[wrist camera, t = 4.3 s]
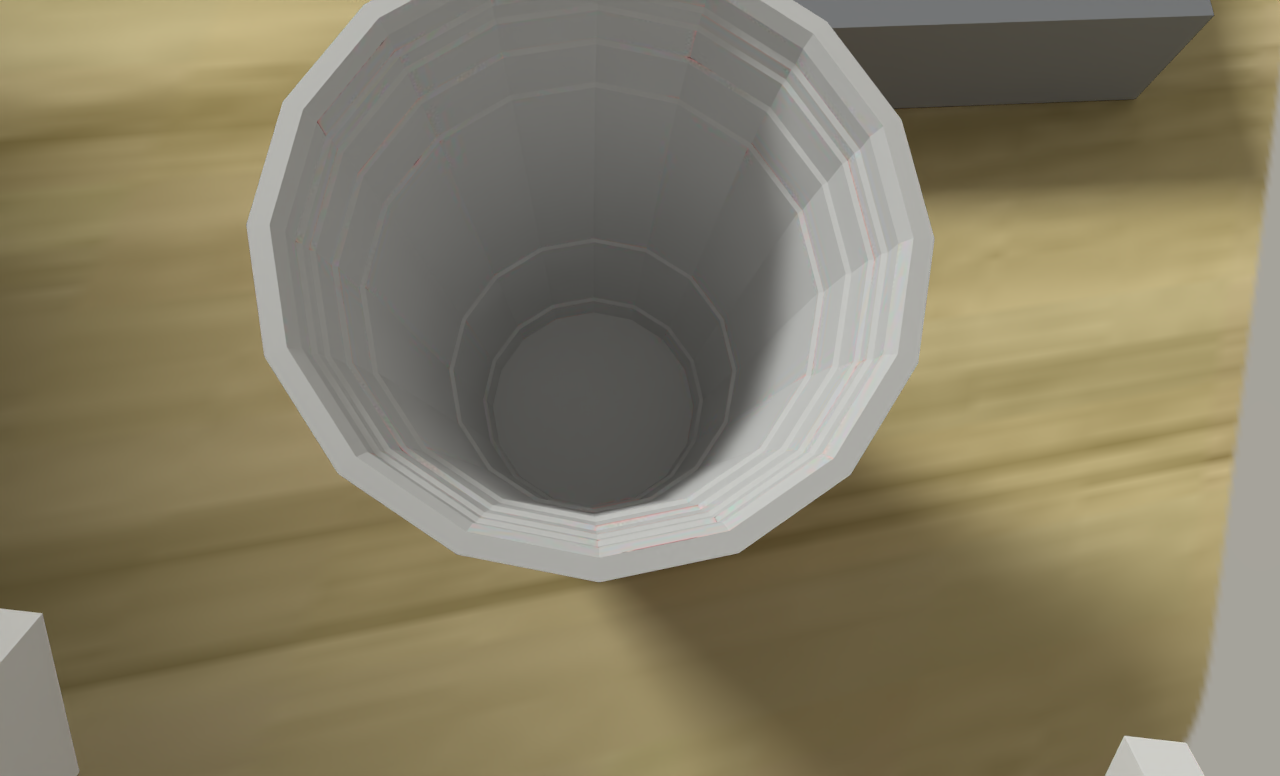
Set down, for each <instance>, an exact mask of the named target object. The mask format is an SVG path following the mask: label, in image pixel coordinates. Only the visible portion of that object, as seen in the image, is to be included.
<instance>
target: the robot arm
mask: <svg viewBox="0 0 1280 776" xmlns="http://www.w3.org/2000/svg"><path fill="white" fill-rule="evenodd" d="M78 773H79V767H78V763H77V759H76V755H75V750H74V746H73V742H72V737H71V733H70V729H69V725H68V720H67V716H66V712H65V707H64V703H63V699H62V695H61V690H60V686H59V682H58V678H57V673H56V669H55V665H54V660H53V656H52V652H51V648H50V643H49V639H48V635H47V630H46V626H45V622H44V618H43V613H35V612H26V611H18V610H9V609H0V776H77V775H78ZM1105 776H1205V775H1204V774H1203V772H1202V770H1201V768H1200V766H1199V765H1198V763H1197V761H1196V759H1195V757H1194V755H1193V754H1192V752H1191V750H1190V748H1189V747H1188V745H1187V743H1184V742H1175V741H1166V740H1157V739H1148V738H1139V737H1131V736H1124V737H1123V739H1122V741H1121V743H1120V746H1119V748H1118V750H1117V752H1116V754H1115V756H1114V758H1113V760H1112V762H1111V764H1110V766H1109V768H1108V770H1107V773H1106V775H1105Z"/></svg>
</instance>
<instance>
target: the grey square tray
mask: <svg viewBox="0 0 1280 776" xmlns="http://www.w3.org/2000/svg"><path fill="white" fill-rule="evenodd" d="M793 1H795V2H797V3H798V4H800V5H801V6H803V7H805V8H806V9H808V10H809V11H811V12H812V13H814V14H816V15H817V16H819V17H820V18H822V19H824V20H825V21H827V22H828V24H829V25H830V26H831V28H832V29H833V30H834V32H835V33H836V34H837V35H838V37H839V38H840V39H841V41H842V42H843V43H844V45H845V46H846V47H847V49H848V50H849V51H850V53H851V54H852V55H853V57H854V58H855V59H856V61H857V62H858V63H859V64H860V66H861V67H862V68H863V70H864V71H865V72H866V74H867V75H868V76H869V78H870V79H871V80H872V82H873V83H874V84H875V86H876V87H877V88H878V89H879V91H880V92H881V93H882V95H883V96H884V97H885V99H886V100H887V101H888V103H889V104H890V105H891V107H892V108H918V107H944V106H969V105H995V104H1021V103H1047V102H1072V101H1098V100H1124V99H1136V98H1137V97H1138V96H1139V95H1140V94H1141V93H1142V92H1143V90H1144V89H1145V88H1146V87H1147V86H1148V85H1149V84H1150V83H1151V82H1152V81H1153V80H1154V79H1155V78H1156V77H1157V76H1158V75H1159V73H1160V72H1161V71H1162V70H1163V69H1164V68H1165V67H1166V66H1167V65H1168V64H1169V63H1170V62H1171V61H1172V60H1173V59H1174V57H1175V56H1176V55H1177V54H1178V53H1179V52H1180V51H1181V50H1182V49H1183V48H1184V47H1185V46H1186V45H1187V44H1188V43H1189V42H1190V40H1191V39H1192V38H1193V37H1194V36H1195V35H1196V34H1197V33H1198V32H1199V31H1200V30H1201V29H1202V28H1203V27H1204V26H1205V25H1206V23H1207V22H1208V21H1209V20H1210V19H1211V18H1212V17H1213V16H1214V13H1213V9H1212V6H1211V2H1210V0H793Z"/></svg>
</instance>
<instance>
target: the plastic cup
mask: <svg viewBox="0 0 1280 776" xmlns="http://www.w3.org/2000/svg"><path fill="white" fill-rule="evenodd" d="M246 226H247V233H248V241H249V248H250V255H251V263H252V270H253V277H254V284H255V292H256V299H257V306H258V314H259V321H260V328H261V336H262V343H263V350H264V357H265V358H266V360H267V361H268V363H269V365H270V366H271V368H272V369H273V371H274V373H275V374H276V376H277V377H278V379H279V381H280V382H281V384H282V385H283V387H284V389H285V390H286V392H287V393H288V395H289V397H290V398H291V400H292V401H293V403H294V404H295V406H296V408H297V409H298V411H299V412H300V414H301V416H302V417H303V419H304V420H305V422H306V424H307V425H308V427H309V428H310V430H311V432H312V433H313V435H314V436H315V438H316V439H317V441H318V443H319V444H320V446H321V447H322V449H323V451H324V452H325V454H326V455H327V457H328V459H329V460H330V462H331V463H332V465H333V467H334V468H335V470H336V471H337V473H338V474H339V475H341V476H342V477H343V478H345V479H346V480H348V481H349V482H351V483H352V484H354V485H355V486H357V487H358V488H360V489H361V490H363V491H364V492H366V493H367V494H369V495H370V496H371V497H373V498H374V499H376V500H377V501H379V502H380V503H382V504H383V505H385V506H386V507H388V508H389V509H391V510H392V511H394V512H395V513H397V514H398V515H399V516H401V517H402V518H404V519H405V520H407V521H408V522H410V523H411V524H413V525H414V526H416V527H417V528H419V529H420V530H422V531H423V532H425V533H426V534H427V535H429V536H430V537H432V538H433V539H435V540H436V541H438V542H439V543H441V544H442V545H444V546H445V547H447V548H448V549H450V550H451V551H453V552H454V553H455V554H457V555H462V556H467V557H473V558H478V559H483V560H488V561H493V562H498V563H503V564H508V565H513V566H518V567H524V568H529V569H534V570H539V571H544V572H549V573H554V574H559V575H564V576H570V577H575V578H580V579H585V580H590V581H595V582H603V581H608V580H613V579H618V578H622V577H627V576H632V575H637V574H641V573H646V572H651V571H656V570H661V569H665V568H670V567H675V566H680V565H684V564H689V563H694V562H699V561H704V560H708V559H713V558H718V557H723V556H727V555H732V554H737V553H740V552H741V551H742V550H744V549H745V548H747V547H748V546H750V545H751V544H752V543H754V542H755V541H757V540H758V539H760V538H761V537H762V536H764V535H765V534H767V533H768V532H770V531H771V530H772V529H774V528H775V527H777V526H778V525H780V524H781V523H782V522H784V521H785V520H787V519H788V518H790V517H791V516H792V515H794V514H795V513H797V512H798V511H799V510H801V509H802V508H804V507H805V506H807V505H808V504H809V503H811V502H812V501H814V500H815V499H817V498H818V497H819V496H821V495H822V494H824V493H825V492H827V491H828V490H829V489H831V488H832V487H834V486H835V485H837V484H838V483H839V482H841V481H842V480H844V479H845V478H846V477H848V476H849V475H851V473H852V471H853V470H854V468H855V466H856V465H857V463H858V462H859V460H860V458H861V457H862V455H863V453H864V452H865V450H866V448H867V447H868V445H869V443H870V442H871V440H872V438H873V437H874V435H875V434H876V432H877V430H878V429H879V427H880V425H881V424H882V422H883V420H884V419H885V417H886V415H887V414H888V412H889V410H890V409H891V407H892V405H893V404H894V402H895V401H896V399H897V397H898V396H899V394H900V392H901V391H902V389H903V387H904V386H905V384H906V382H907V381H908V379H909V377H910V376H911V374H912V372H913V371H914V369H915V368H916V366H917V364H918V360H919V352H920V345H921V337H922V330H923V322H924V315H925V307H926V299H927V292H928V284H929V277H930V269H931V262H932V254H933V246H934V235H933V232H932V228H931V224H930V221H929V217H928V214H927V210H926V206H925V203H924V199H923V195H922V192H921V188H920V185H919V181H918V177H917V174H916V170H915V167H914V163H913V159H912V156H911V152H910V148H909V145H908V141H907V138H906V134H905V130H904V127H903V123H902V120H901V118H900V117H899V116H898V114H897V113H896V112H895V111H894V109H893V108H892V107H891V105H890V104H889V103H888V101H887V100H886V99H885V97H884V96H883V95H882V93H881V92H880V91H879V89H878V88H877V87H876V86H875V84H874V83H873V82H872V80H871V79H870V78H869V76H868V75H867V74H866V72H865V71H864V70H863V68H862V67H861V66H860V64H859V63H858V62H857V61H856V59H855V58H854V57H853V55H852V54H851V53H850V51H849V50H848V49H847V47H846V46H845V45H844V43H843V42H842V41H841V39H840V38H839V37H838V35H837V34H836V33H835V32H834V30H833V29H832V28H831V26H830V25H829V24H828V22H827V21H825V20H824V19H822V18H820V17H819V16H817V15H816V14H814V13H812V12H811V11H809V10H808V9H806V8H805V7H803V6H801V5H800V4H798V3H797V2H795V1H793V0H372V1H370V2H368V3H366V4H364V5H363V6H362V8H361V9H360V10H359V11H358V12H357V14H356V15H355V16H354V17H353V18H352V20H351V21H350V22H349V23H348V24H347V26H346V27H345V28H344V29H343V30H342V32H341V33H340V34H339V35H338V36H337V38H336V39H335V40H334V41H333V42H332V43H331V45H330V46H329V47H328V48H327V49H326V51H325V52H324V53H323V54H322V55H321V57H320V58H319V59H318V60H317V61H316V63H315V64H314V65H313V66H312V67H311V69H310V70H309V71H308V72H307V73H306V75H305V76H304V77H303V78H302V79H301V81H300V82H299V83H298V84H297V85H296V87H295V88H294V89H293V90H292V91H291V93H290V94H289V95H288V96H287V97H286V98H285V100H284V101H283V103H282V106H281V110H280V113H279V116H278V120H277V123H276V127H275V130H274V133H273V137H272V140H271V143H270V147H269V150H268V154H267V157H266V160H265V164H264V167H263V170H262V174H261V177H260V181H259V184H258V187H257V191H256V194H255V197H254V201H253V204H252V207H251V211H250V214H249V218H248V221H247V224H246Z"/></svg>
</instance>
